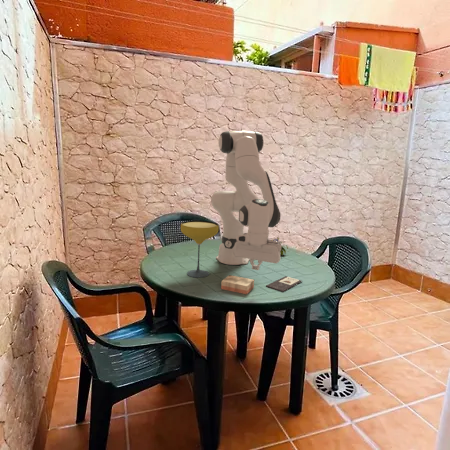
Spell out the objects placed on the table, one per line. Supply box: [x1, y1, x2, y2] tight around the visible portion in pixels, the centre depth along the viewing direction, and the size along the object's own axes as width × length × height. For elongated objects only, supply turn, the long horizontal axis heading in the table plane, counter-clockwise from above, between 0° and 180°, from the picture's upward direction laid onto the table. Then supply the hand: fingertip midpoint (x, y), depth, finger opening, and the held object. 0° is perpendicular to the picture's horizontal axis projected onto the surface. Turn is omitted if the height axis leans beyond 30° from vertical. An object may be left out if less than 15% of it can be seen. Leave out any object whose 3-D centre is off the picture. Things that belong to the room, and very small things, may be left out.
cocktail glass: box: [180, 219, 220, 279], centre depth 166 cm, size 18×18×25 cm
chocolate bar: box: [265, 275, 302, 293], centre depth 160 cm, size 9×1×18 cm
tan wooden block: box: [220, 274, 255, 295], centre depth 152 cm, size 9×4×12 cm
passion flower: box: [271, 237, 289, 256], centre depth 210 cm, size 11×11×12 cm
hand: (255, 269), depth 147 cm, fingers closed
